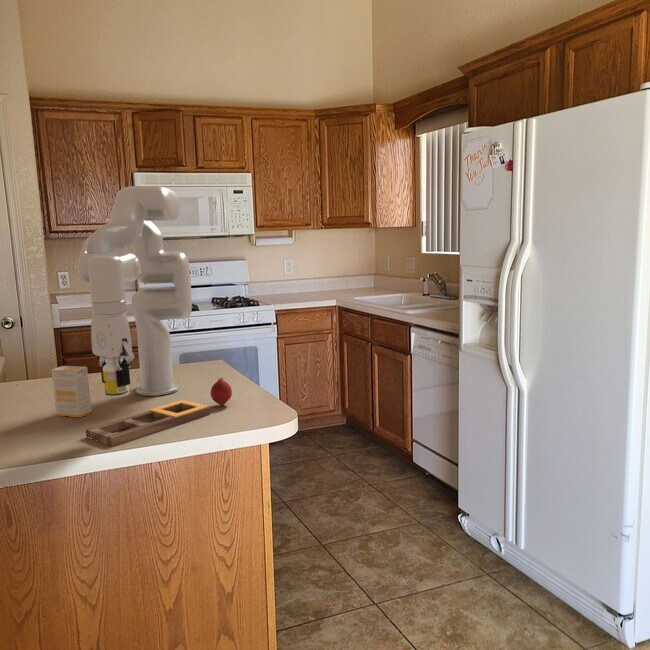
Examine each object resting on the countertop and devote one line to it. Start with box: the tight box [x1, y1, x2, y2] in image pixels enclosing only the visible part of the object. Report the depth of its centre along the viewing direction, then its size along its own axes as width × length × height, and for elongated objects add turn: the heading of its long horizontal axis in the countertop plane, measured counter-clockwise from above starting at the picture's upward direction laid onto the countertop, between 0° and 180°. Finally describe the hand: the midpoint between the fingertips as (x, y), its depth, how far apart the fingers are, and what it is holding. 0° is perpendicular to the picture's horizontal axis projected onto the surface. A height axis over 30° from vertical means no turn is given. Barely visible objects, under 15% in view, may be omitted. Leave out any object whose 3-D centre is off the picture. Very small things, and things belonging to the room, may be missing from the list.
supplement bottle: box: [103, 355, 130, 399], centre depth 143 cm, size 5×5×10 cm
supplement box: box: [51, 365, 92, 418], centre depth 162 cm, size 8×5×13 cm, turn 71°
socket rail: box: [85, 399, 211, 447], centre depth 151 cm, size 11×29×2 cm, turn 142°
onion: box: [210, 377, 233, 406], centre depth 166 cm, size 6×6×8 cm
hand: (116, 382), depth 143 cm, fingers closed on supplement bottle, 5 cm apart
